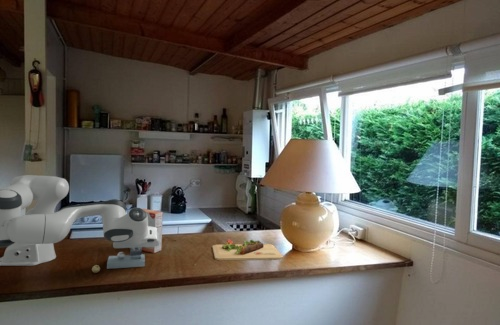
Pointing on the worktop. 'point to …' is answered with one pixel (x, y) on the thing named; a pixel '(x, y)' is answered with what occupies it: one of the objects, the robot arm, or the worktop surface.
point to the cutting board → (246, 251)
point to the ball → (120, 255)
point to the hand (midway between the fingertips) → (136, 249)
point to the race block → (135, 252)
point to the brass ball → (95, 268)
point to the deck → (126, 261)
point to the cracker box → (156, 221)
